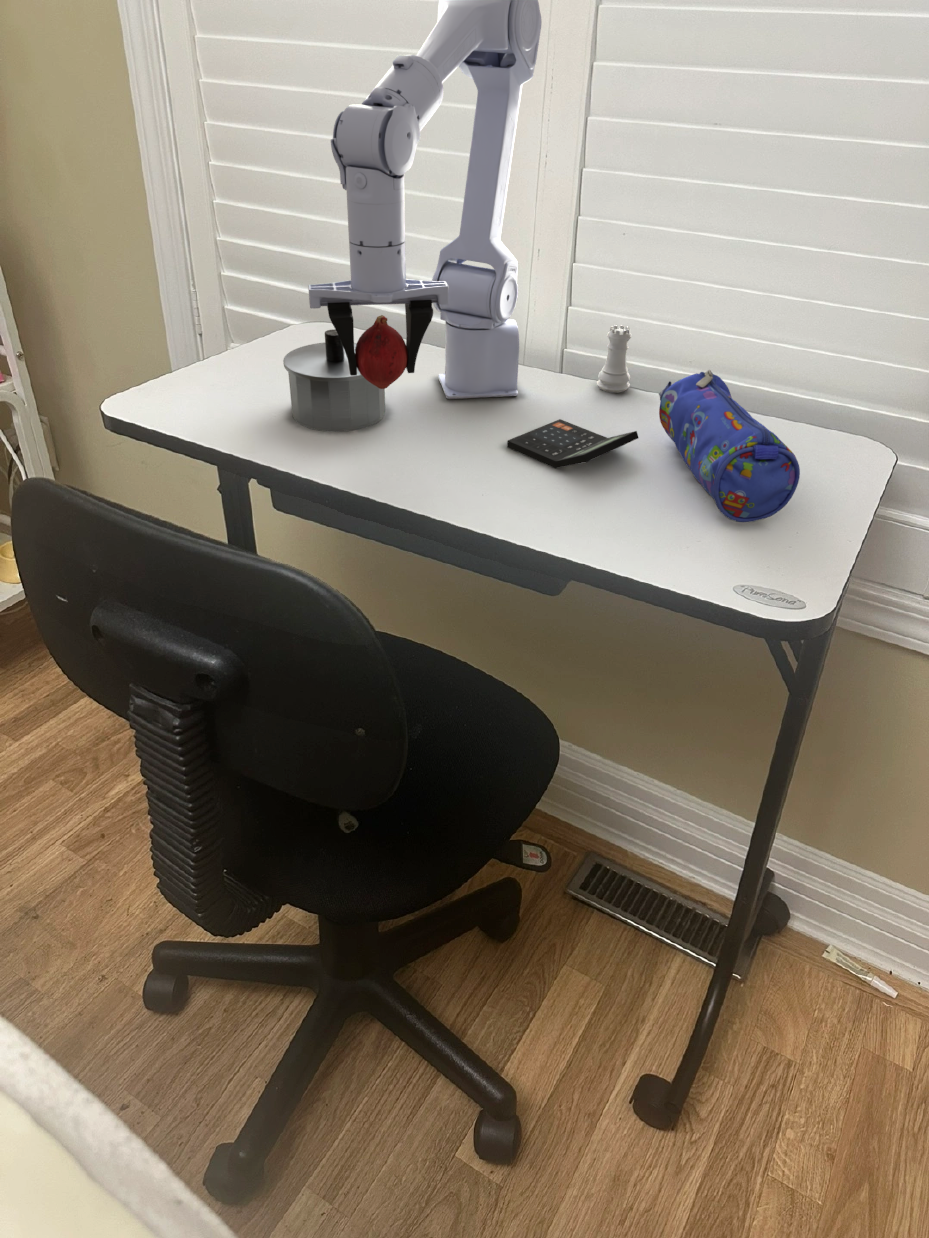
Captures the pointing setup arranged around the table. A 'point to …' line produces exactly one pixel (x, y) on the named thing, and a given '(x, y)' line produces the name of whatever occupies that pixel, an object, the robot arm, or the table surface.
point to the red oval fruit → (381, 354)
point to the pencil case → (728, 448)
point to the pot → (336, 404)
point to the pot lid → (321, 360)
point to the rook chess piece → (616, 361)
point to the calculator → (566, 444)
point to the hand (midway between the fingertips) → (381, 371)
